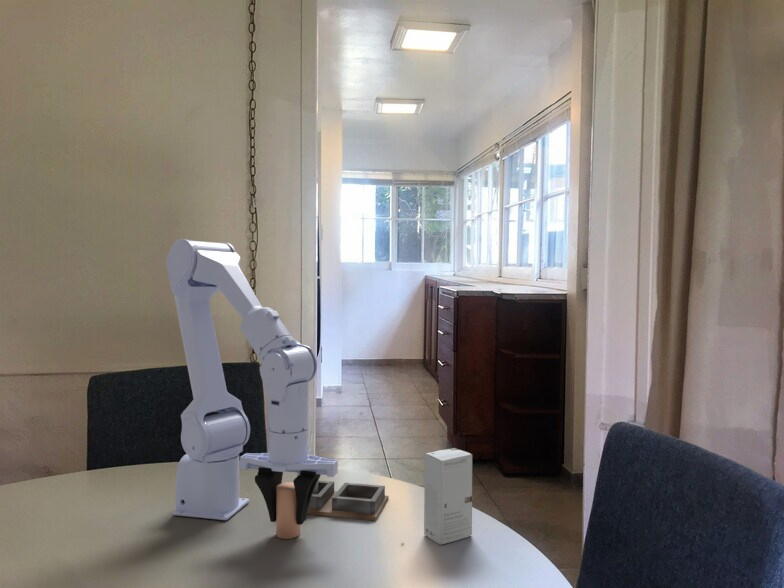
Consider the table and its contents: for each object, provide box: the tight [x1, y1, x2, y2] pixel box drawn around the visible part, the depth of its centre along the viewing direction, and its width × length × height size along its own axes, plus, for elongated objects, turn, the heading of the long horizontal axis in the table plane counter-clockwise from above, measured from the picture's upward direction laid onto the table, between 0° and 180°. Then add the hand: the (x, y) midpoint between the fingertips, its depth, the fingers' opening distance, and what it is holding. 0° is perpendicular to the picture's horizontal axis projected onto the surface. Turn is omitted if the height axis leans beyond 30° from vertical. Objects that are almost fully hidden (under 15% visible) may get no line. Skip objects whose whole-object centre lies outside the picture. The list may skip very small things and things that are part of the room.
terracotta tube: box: [275, 481, 301, 540], centre depth 82 cm, size 4×4×7 cm
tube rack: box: [292, 454, 390, 522], centre depth 93 cm, size 17×9×8 cm, turn 78°
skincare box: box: [423, 447, 473, 546], centre depth 82 cm, size 6×4×12 cm
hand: (288, 520), depth 82 cm, fingers closed on terracotta tube, 3 cm apart
